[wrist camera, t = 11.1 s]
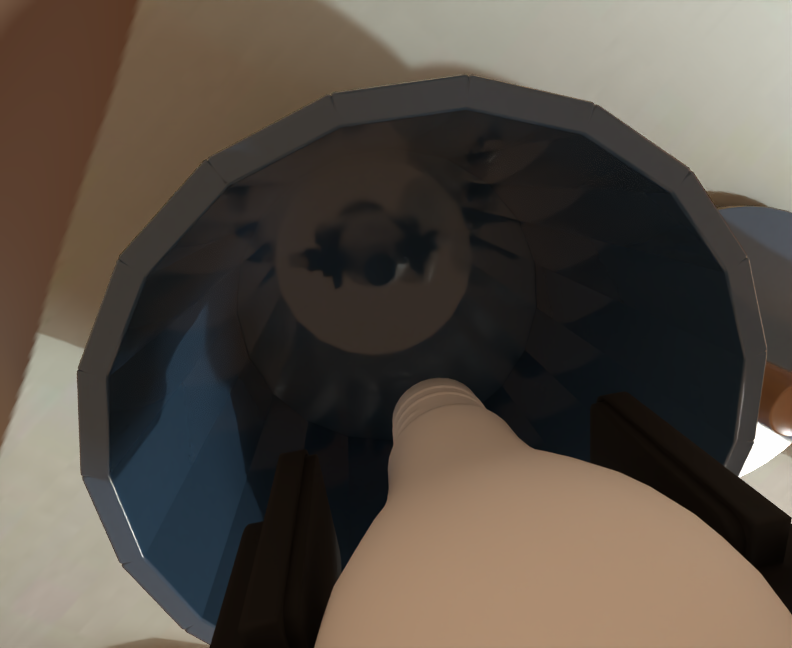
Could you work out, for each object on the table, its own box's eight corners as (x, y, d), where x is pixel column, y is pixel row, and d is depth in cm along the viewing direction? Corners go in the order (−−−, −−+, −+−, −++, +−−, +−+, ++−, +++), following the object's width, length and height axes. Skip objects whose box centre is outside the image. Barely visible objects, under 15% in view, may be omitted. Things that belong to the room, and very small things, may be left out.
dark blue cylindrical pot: (536, 114, 21) (815, 25, 9) (547, 415, 26) (729, 629, 14) (186, 164, 20) (-69, 146, 8) (270, 466, 25) (199, 746, 13)
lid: (862, 181, 24) (1032, 183, 18) (810, 453, 29) (927, 523, 23) (550, 231, 23) (622, 251, 17) (557, 503, 28) (614, 590, 22)
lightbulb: (286, 436, 13) (62, 1444, 3) (406, 262, 12) (848, 861, 1) (451, 520, 15) (714, 1353, 4) (571, 374, 13) (1339, 1037, 3)
